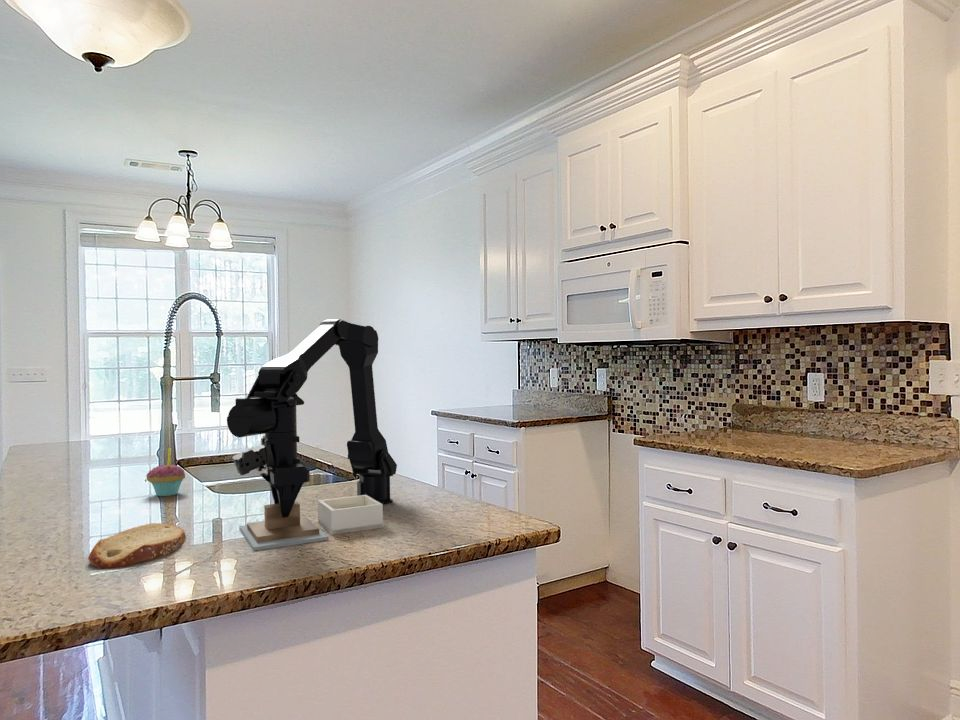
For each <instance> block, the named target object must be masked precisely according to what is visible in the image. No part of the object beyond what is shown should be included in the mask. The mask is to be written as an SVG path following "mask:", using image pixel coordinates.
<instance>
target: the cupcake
mask: <svg viewBox="0 0 960 720" xmlns="http://www.w3.org/2000/svg"><path fill="white" fill-rule="evenodd" d="M171 446H172V445H169V448H168V450H167V464H163V465H158V466H155V467H154V468H153V467H152V469H150V470H149V471H148V472H147V473H146V476H145V477H146V481H147V482H148V483H151V485H152V487H153V490H154V493H155V495H156V496H158V497H169V496H170V497H171V496H174V495H177V494H179V490H180V487H181V485H182V482H183V480H184V479H186V473H185V470H184V469H183V468H182V467H181V466H179V465H176V464H171V460H172V459H171V457H172V447H171Z"/></svg>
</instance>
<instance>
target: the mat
mask: <svg viewBox="0 0 960 720" xmlns="http://www.w3.org/2000/svg"><path fill="white" fill-rule="evenodd" d="M238 527H239V531H240V532H241V534H242V535H243V537H244V538H245V540H246V541H247V543H248V545H250V547H251V549H252V550H253V552H254V551H261V550H267V549H273V548H274V549H275V548H282V547H289V546H296V545H302V544H303V545H304V544H309V543H316V542H322V541H329V535H327V534H326V533H325V532H324V531H323V530H321V529H320V528H319V534H316V535H309V536H302V537H294V538H287V539H280V540H273V541H266V542H258V543H257V542H256V540H255V539H254V537H253V536H252V535H251V533H250V532H249V530H248V529H247V524H246V525H239V526H238Z"/></svg>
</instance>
